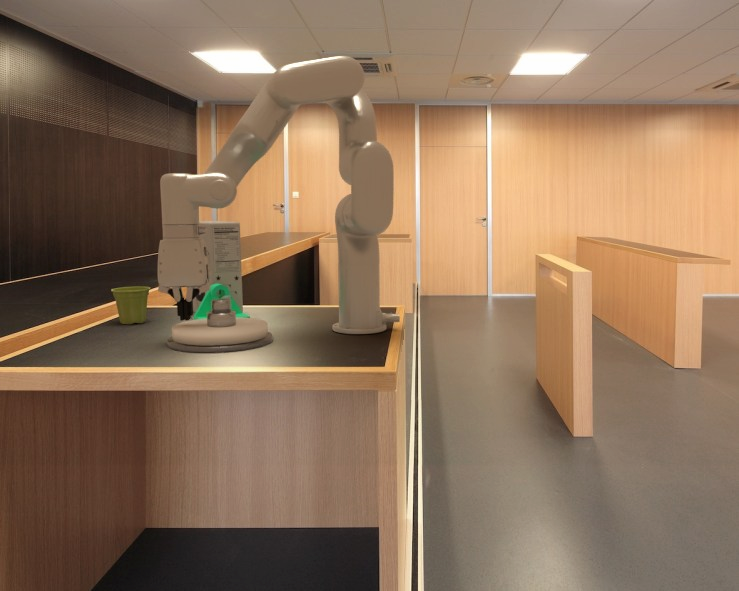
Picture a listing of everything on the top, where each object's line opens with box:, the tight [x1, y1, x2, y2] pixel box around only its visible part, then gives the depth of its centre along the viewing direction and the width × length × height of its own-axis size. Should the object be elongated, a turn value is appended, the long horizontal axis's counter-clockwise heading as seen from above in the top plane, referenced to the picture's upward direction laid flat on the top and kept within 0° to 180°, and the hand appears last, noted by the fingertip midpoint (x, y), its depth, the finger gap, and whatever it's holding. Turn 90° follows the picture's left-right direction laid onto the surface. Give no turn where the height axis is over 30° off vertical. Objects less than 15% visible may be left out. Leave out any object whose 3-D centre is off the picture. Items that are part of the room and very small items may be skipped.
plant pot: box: [110, 286, 151, 325], centre depth 167 cm, size 9×9×9 cm
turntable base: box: [166, 331, 274, 354], centre depth 143 cm, size 22×22×1 cm
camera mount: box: [192, 284, 251, 320], centre depth 161 cm, size 12×8×10 cm, turn 120°
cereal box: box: [193, 220, 244, 314], centre depth 176 cm, size 22×8×25 cm, turn 29°
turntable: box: [171, 296, 269, 346], centre depth 142 cm, size 20×20×7 cm
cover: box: [207, 299, 236, 328], centre depth 142 cm, size 6×6×5 cm
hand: (185, 319), depth 142 cm, fingers closed
